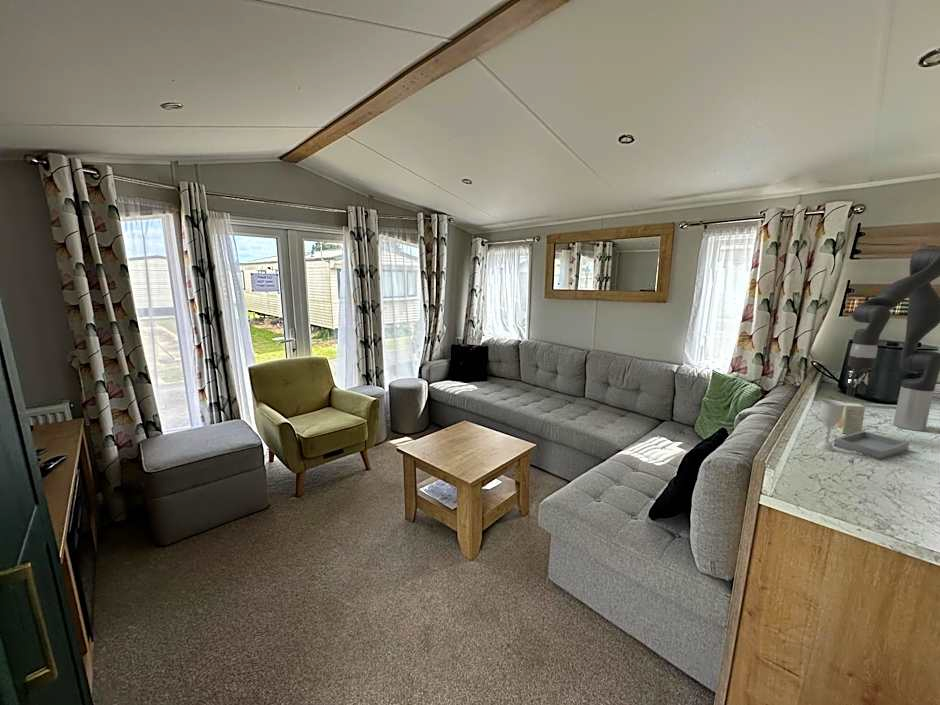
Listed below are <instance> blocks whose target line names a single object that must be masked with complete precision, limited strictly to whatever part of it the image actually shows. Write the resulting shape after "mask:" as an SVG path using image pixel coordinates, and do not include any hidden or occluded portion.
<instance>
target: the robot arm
mask: <svg viewBox="0 0 940 705" xmlns="http://www.w3.org/2000/svg"><path fill="white" fill-rule="evenodd" d="M939 277H940V247H934V248H933V247H932V248H931V247H930V248H929V247H927V248H926V247H925V248H919V249H917V250H915V251H914V252H913V253H912V255H911V257H910V262H909V275H908V276H906V277H903V278H901V279H899V280H896V281H894V282H893V283H891V284H889V285H888V286H886V287H885V288H884V289H883V290H881V291H880V293H878V294H877V295H876V296H873V297H871V298H869V299H867V300H865V301H863V302H862V303H860V304H858V305H857V306H855V308H854V309H853V310H852V312H851V313H852V314H851V317H852V319H853V320H854V321H855V322H858V323H865V324H868V325H867V326H866V328H858V329H857V330H855V331H854V335H853V339H852V340H853V341H852V344H851V347H850V351H849V356H848V360H847V361H848V363H847V366H849V367H851V368H852V370H847V371H846V375H845V379H844V384H843V385H845V386H847V387H846V393H845V395H846V396H848V397H854V396H855V391H856V393H857V394H860V395H861V394H862V395H865V394H866V390H867V386H868V385H869V384H870V383H871V381H872V375H873V369H874V368H875V367H876V366H875V365H876V360H877V355H878V345H879V341H880V336H881V334H882V332H883V330H884V329H885V327H886V325H887V324H888V322H889V321H890V318H891V311H890V309H895V308H896V307H898V306H899V305H900V304H902V303H903V301H905V300H906V299H908V297H909V299H908V306H907V313H906V314H907V315H906V316H907V317H906V329H905V330H906V331H905V337H904V342H903V347H902V352H901V357H900V368H901V369H902V370H904V371H905V372H912V373H920V374H923V375H922V377H918V378H907V379H903V380H902V381H901V385H900V390H899V394H898V398H897V404H896V408H895V414H894V418H893V423H892V424H893V426H895V427H898V428H900V429H905V430H910V431H915V432H916V431H917V432H922V431H923V432H924V431H926V428H927V424H928V419H929V415H930V410H931V407H932V401H933V397H934V394H935V393H934V392H935V388H936V385H937V381H938V377H939V374H940V352H937V351H929V350H928V351H927V350H918V346H919V343H920V341H921V340H922V339H923V338H924V337H925V336H926V335H927V334H929V333H930V332H931V331H932V330H934V329H935V328H937V326H939V324H940V296H939V295H938V293H937V292H936V290H935V289H934V287H933V286H932V284H931V282H933V281H934V280H936V279H938V278H939ZM856 386H857V390H856Z"/></svg>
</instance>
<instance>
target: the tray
mask: <svg viewBox="0 0 940 705" xmlns="http://www.w3.org/2000/svg"><path fill="white" fill-rule="evenodd" d="M909 445H910V442H907V441H903V440H899V439H896V438H891V437H888V436H884V435H880V434H877V433H873V432H869V431H865V430H861V431H860V432H856V433H852V434H845V435H842V436H839V437H835V438H834V442H833V447H836V448H839V447H840V448H839V449H842V448H844V449H843V450H846V449H848V450H847V451H849V450H852V451H856V452H859V453H862V454H865V455H868V456H870V457H869V458H871V457H873V458H872V459H875V458H876V460H878V461H882V460H884V459H887V458H890V456H891V457H893V456H897V455H900V454H902V453H905V452H908V449H909ZM852 451H851V452H852ZM859 453H858V454H859ZM862 454H861V455H862ZM865 455H864V456H865ZM868 456H867V457H868Z"/></svg>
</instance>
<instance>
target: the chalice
mask: <svg viewBox="0 0 940 705" xmlns="http://www.w3.org/2000/svg"><path fill="white" fill-rule="evenodd" d="M820 403H821V406H820V410H819V413H820V418H821V420H822V423H823V425H824V426H826V429H825V430H824V432H825V434H823V437H824V440H821V441H819V442H818V443H817V445H816V446H815V447H816V448H817V449H819V450H821V451H825V452H834V451H835V449H834V446H833V444H832V443H831V442H830V441H829V439H830V438H831V435H830V433H831V428H833V427H835V426H837V425H838V422H839V421H840V419H841V418H842V414H843V409H844V406H845V405H846V404H845V403H846V402H843V401H839V400H834V399H826V398H825V399H820Z"/></svg>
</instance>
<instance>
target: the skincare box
mask: <svg viewBox="0 0 940 705" xmlns="http://www.w3.org/2000/svg"><path fill="white" fill-rule="evenodd" d="M844 403H845V404H846V405H845V406H844V409H843V414H842V418H841V419H840V421H839V422H838V423H837V424H836V431H837V432H839V433H841V434H843V433H845V435H849V434H852V433H856V432H860V431H862V429H863V422H864V415H865V410H866V406H865V405H862V404H861V403H852V402H844Z"/></svg>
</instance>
